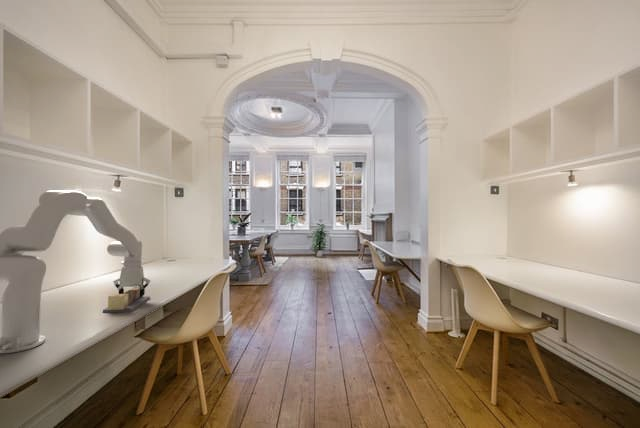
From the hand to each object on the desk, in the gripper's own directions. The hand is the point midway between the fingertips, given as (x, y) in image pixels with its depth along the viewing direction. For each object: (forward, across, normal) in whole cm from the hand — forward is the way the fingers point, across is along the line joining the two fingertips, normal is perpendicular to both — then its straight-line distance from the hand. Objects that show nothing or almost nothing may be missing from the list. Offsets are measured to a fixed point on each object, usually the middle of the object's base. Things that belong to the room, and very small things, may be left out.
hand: (131, 296), depth 150 cm
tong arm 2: (+2, +1, 0) cm, 2 cm away
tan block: (+2, 0, -13) cm, 14 cm away
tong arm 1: (+2, -1, 0) cm, 2 cm away
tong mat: (+3, 0, -4) cm, 5 cm away
